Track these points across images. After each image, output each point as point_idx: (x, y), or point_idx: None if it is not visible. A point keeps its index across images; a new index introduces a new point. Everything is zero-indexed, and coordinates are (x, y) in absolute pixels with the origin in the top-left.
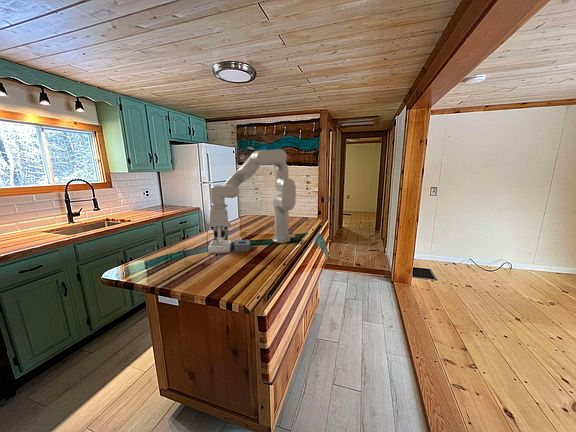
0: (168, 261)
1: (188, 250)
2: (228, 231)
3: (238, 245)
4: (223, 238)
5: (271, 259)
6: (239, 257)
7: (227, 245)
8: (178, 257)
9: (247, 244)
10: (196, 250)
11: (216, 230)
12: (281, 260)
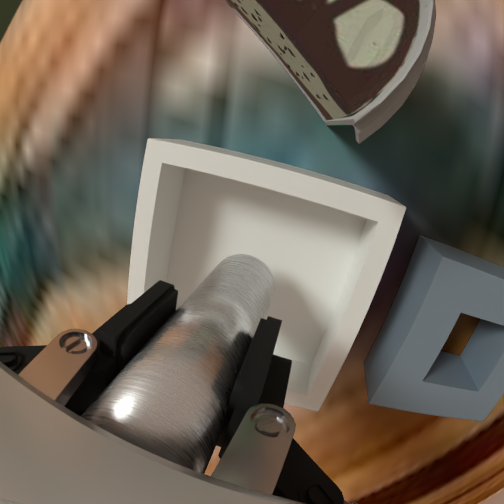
0: (6, 314)
1: (36, 177)
2: (422, 69)
3: (404, 408)
4: (313, 92)
5: (463, 491)
6: (351, 453)
7: (343, 213)
8: (20, 285)
9: (472, 416)
10: (73, 196)
11: (113, 371)
12: (481, 498)
